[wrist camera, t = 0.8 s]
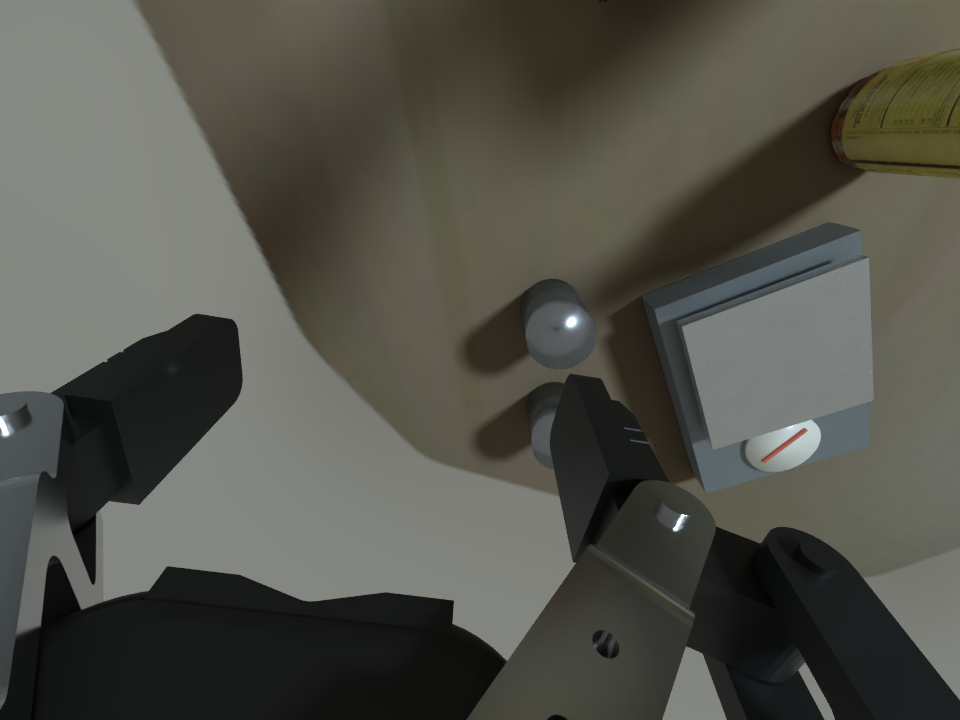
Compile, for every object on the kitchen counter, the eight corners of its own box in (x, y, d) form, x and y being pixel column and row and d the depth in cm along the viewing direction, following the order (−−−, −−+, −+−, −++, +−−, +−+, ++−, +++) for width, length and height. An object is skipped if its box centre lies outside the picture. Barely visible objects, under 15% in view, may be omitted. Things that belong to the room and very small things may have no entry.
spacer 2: (569, 374, 38) (582, 413, 33) (586, 415, 40) (601, 458, 35) (518, 393, 39) (523, 434, 34) (537, 432, 41) (545, 477, 36)
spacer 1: (568, 269, 34) (584, 294, 28) (587, 321, 36) (605, 354, 30) (511, 293, 35) (516, 322, 29) (533, 342, 37) (541, 378, 31)
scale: (829, 222, 32) (868, 231, 28) (844, 425, 40) (875, 450, 37) (641, 295, 34) (657, 312, 31) (692, 471, 43) (708, 498, 40)
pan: (857, 253, 29) (868, 257, 28) (863, 393, 34) (873, 400, 33) (676, 321, 31) (681, 326, 30) (707, 442, 36) (713, 449, 35)
